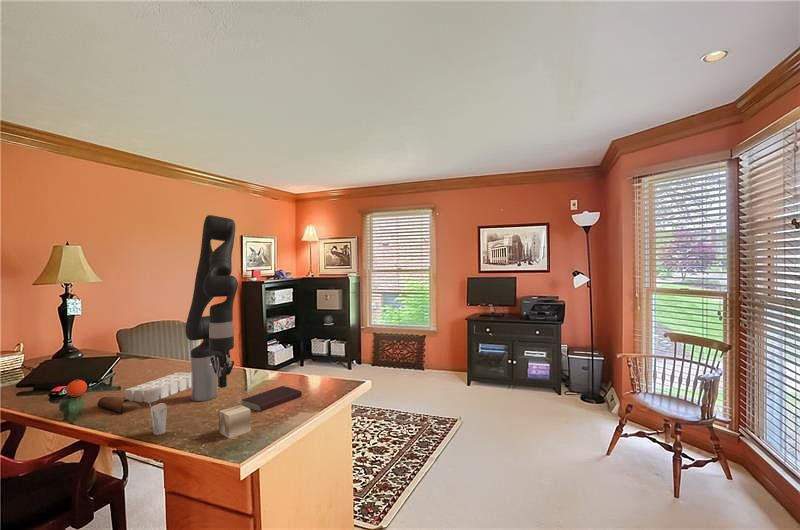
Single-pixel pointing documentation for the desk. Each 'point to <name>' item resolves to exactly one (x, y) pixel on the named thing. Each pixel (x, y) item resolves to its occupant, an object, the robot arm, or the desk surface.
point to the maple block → (234, 421)
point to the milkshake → (158, 418)
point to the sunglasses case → (118, 404)
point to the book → (271, 398)
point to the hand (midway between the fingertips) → (222, 387)
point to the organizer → (159, 388)
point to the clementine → (76, 388)
